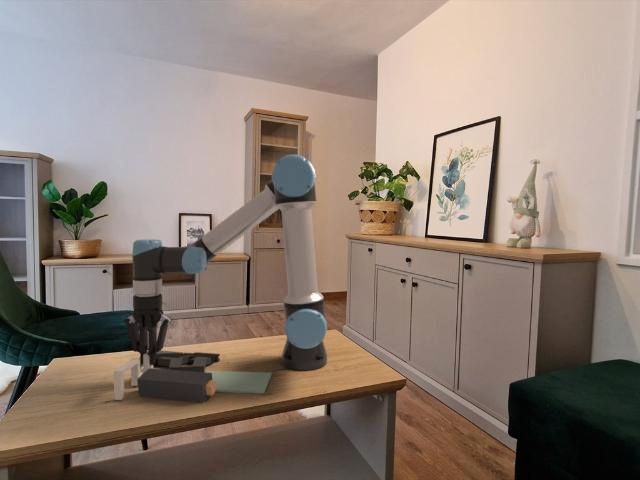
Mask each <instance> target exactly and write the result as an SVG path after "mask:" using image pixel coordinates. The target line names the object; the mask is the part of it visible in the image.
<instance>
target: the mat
mask: <svg viewBox="0 0 640 480" xmlns="http://www.w3.org/2000/svg"><path fill="white" fill-rule="evenodd" d="M205 373H212V380H213V381H216V391H215V392H214V393H232V394H233V393H236V394H238V393H239V394H265V392H266V390H267V388H268V386H269V385H268V384H269V383H270V381H271V377H272V375H273V373H272V372H268V371H267V372H261V371H226V370H225V371H223V370H222V371H221V370H205Z"/></svg>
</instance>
